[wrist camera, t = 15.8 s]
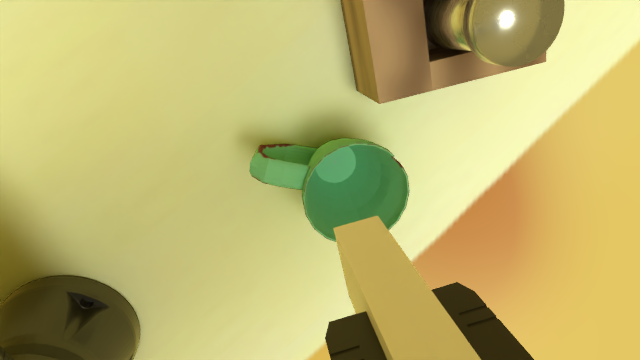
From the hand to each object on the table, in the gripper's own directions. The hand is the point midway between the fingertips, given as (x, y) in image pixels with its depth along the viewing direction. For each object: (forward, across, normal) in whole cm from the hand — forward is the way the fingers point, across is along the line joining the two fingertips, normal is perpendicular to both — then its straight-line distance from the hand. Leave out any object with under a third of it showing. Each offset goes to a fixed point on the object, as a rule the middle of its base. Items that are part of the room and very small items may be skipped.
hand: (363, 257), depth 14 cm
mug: (+32, +2, -7) cm, 33 cm away
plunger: (+26, +16, +4) cm, 31 cm away
